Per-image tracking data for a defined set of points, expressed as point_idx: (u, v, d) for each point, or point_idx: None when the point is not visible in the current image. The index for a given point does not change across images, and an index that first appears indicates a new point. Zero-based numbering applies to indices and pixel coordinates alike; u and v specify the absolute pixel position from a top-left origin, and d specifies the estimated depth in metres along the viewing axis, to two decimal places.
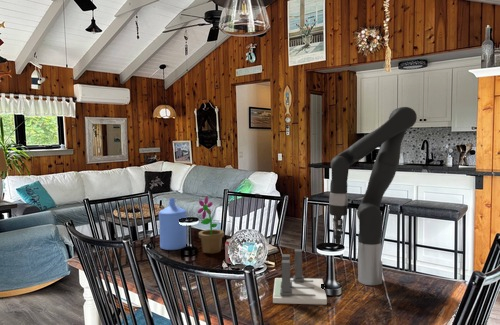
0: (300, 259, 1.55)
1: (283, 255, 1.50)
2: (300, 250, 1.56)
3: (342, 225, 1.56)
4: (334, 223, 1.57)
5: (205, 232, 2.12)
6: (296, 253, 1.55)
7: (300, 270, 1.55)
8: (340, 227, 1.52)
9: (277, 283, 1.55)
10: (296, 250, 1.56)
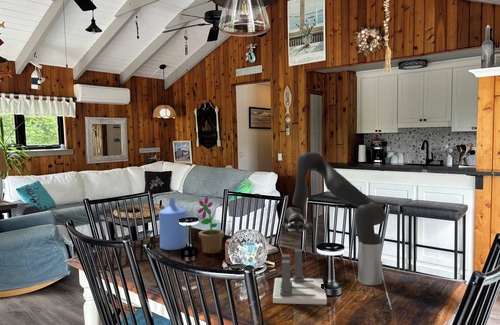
0: (300, 259, 1.55)
1: (283, 255, 1.50)
2: (300, 250, 1.56)
3: (290, 223, 1.75)
4: None
5: (205, 232, 2.12)
6: (296, 253, 1.55)
7: (300, 270, 1.55)
8: (281, 225, 1.76)
9: (277, 283, 1.55)
10: (296, 250, 1.56)
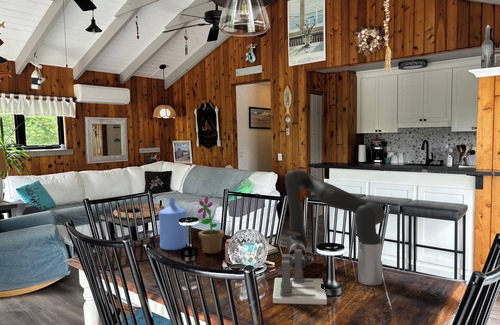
0: (300, 259, 1.55)
1: (283, 255, 1.50)
2: (300, 250, 1.56)
3: (292, 255, 1.62)
4: None
5: (205, 232, 2.12)
6: (296, 253, 1.55)
7: (300, 270, 1.55)
8: None
9: (277, 283, 1.55)
10: (296, 250, 1.56)
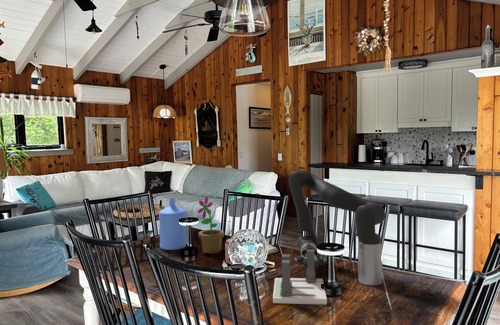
0: (312, 259, 1.54)
1: (283, 255, 1.50)
2: (312, 250, 1.55)
3: (304, 255, 1.61)
4: None
5: (205, 232, 2.12)
6: (308, 253, 1.54)
7: (312, 270, 1.55)
8: (297, 259, 1.61)
9: (277, 283, 1.55)
10: (308, 250, 1.56)
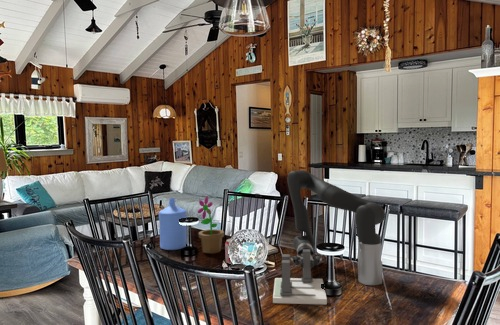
0: (308, 259, 1.55)
1: (283, 255, 1.50)
2: (308, 250, 1.56)
3: (300, 255, 1.61)
4: None
5: (205, 232, 2.12)
6: (304, 253, 1.55)
7: (308, 270, 1.55)
8: (293, 259, 1.61)
9: (277, 283, 1.55)
10: (304, 250, 1.56)
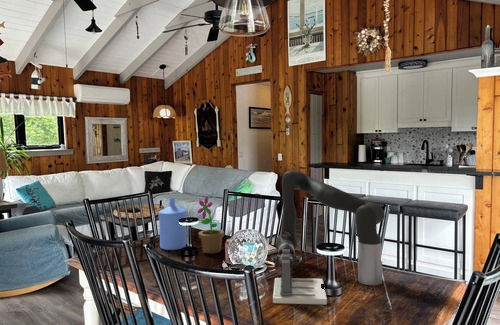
0: None
1: (283, 255, 1.50)
2: (288, 250, 1.57)
3: (280, 255, 1.62)
4: None
5: (205, 232, 2.12)
6: (284, 253, 1.56)
7: None
8: (273, 258, 1.62)
9: (277, 283, 1.55)
10: (284, 250, 1.57)
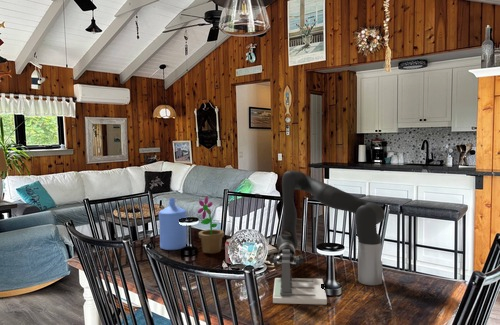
0: None
1: (283, 255, 1.50)
2: (288, 250, 1.57)
3: (279, 255, 1.63)
4: None
5: (205, 232, 2.12)
6: (284, 253, 1.56)
7: None
8: (270, 257, 1.64)
9: (277, 283, 1.55)
10: (284, 250, 1.57)
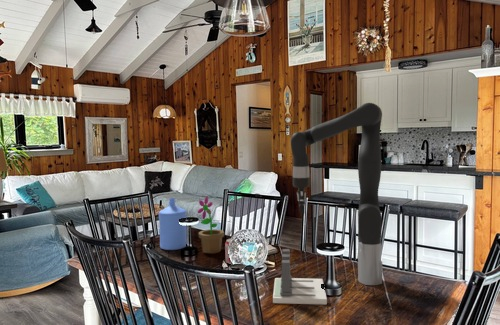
0: None
1: (283, 255, 1.50)
2: (288, 250, 1.57)
3: None
4: (297, 194, 1.68)
5: (205, 232, 2.12)
6: (284, 253, 1.56)
7: None
8: (302, 197, 1.64)
9: (277, 283, 1.55)
10: (284, 250, 1.57)
